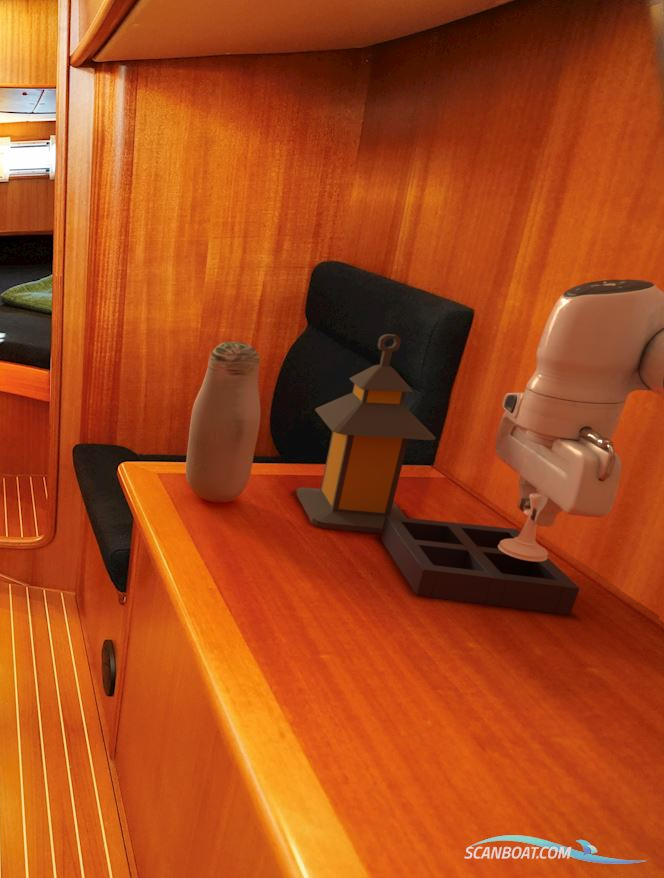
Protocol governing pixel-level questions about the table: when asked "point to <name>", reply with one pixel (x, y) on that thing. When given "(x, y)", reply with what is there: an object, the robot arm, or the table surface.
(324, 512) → the lantern
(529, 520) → the chess piece
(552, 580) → the compartment tray
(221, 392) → the beige bottle
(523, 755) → the table surface
